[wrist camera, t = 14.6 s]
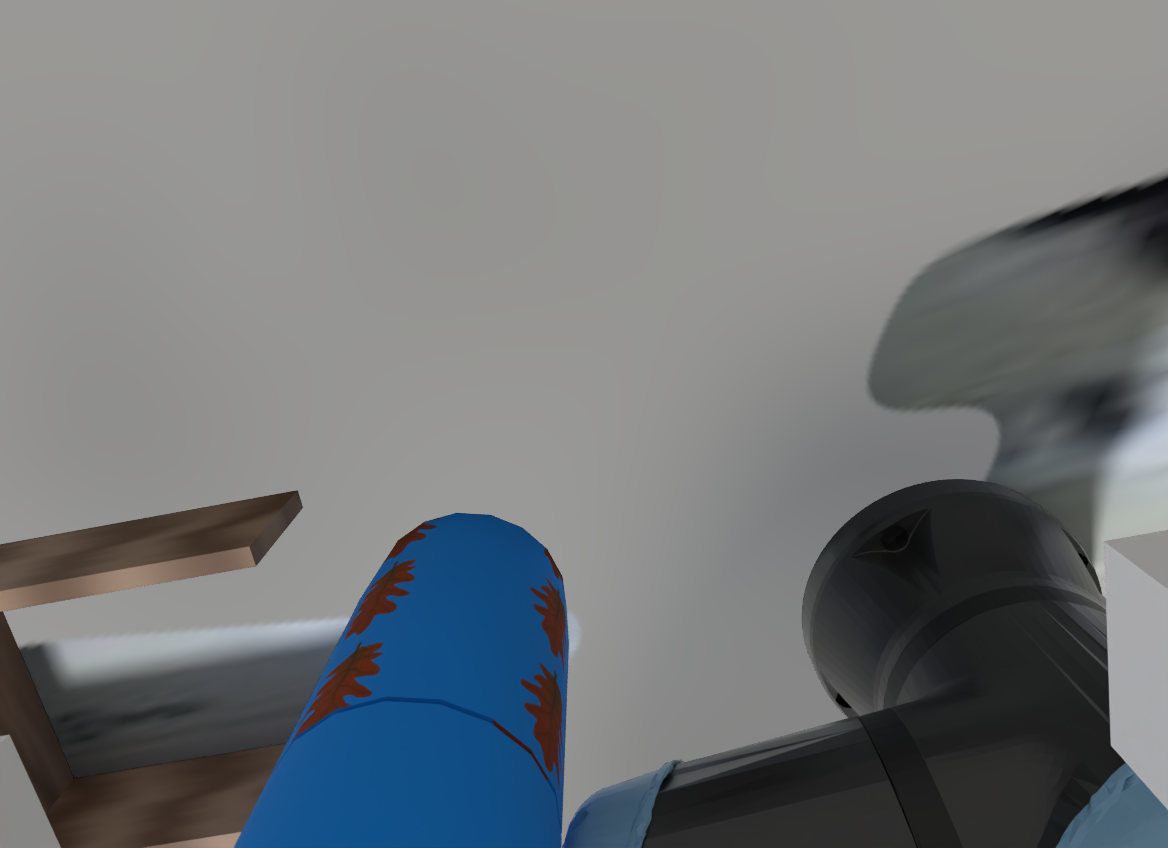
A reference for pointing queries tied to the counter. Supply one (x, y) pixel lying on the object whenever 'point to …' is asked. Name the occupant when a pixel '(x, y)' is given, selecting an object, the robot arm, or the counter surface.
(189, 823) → the wooden frame
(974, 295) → the counter surface
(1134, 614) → the robot arm
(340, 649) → the thermos
